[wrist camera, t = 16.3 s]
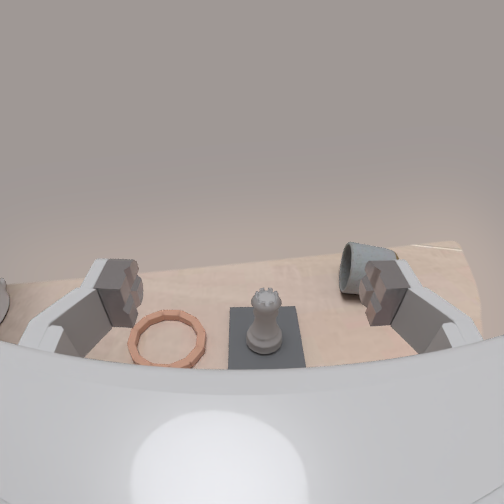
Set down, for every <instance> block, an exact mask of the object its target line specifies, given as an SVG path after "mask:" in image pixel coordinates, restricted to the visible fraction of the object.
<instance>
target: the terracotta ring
mask: <svg viewBox="0 0 504 504" xmlns="http://www.w3.org/2000/svg"><path fill="white" fill-rule="evenodd" d="M163 320H180V321H181V322H183V323H185V324H187V325H189V326H191V327H192V328H193V329H194V331H195V333H196V334H197V341H196V346H195V348H194V349H193V350H192V351H191V352H190V353H189V355H188V356H187V357H186V358H184V359H182V360H179V361H177V362H174V363H172V364H169V365H168V364H153V363H151V362H149V361H147V360H146V359H144V358H143V357H141V356H140V355H139V352H138V350H137V345H138V341H139V337H140V335H141V334H142V333H143V332H144V331H145V330H146V329H147V328H148V327H149V326H150V325H152V324H155V323H158V322H160V321H163ZM205 344H206V332H205V330H204V328H203V327H202V325H201V323H200V322H199V320H198V319H197V318H196V317H194V316H192V315H190V314H188V313H186V312H184V311H181V310H163V311H162V310H160V311H158V312H155V313H152V314H149V315H147V316H146V317H143V318H142V319H141V320H140V321H139V322H138V323H137V324H136V325H135V326H134V328H132V329H131V333H130V336H129V339H128V343H127V345H128V348H129V351H130V354H131V356H132V359H133V361H134V363H135V364H136V365H147V366H159V367H173V368H191V367H193V366H194V365H195V364H196V363H197V361H198V360H199V359H200V358H201V357H202V355H203V354H204V352H205Z"/></svg>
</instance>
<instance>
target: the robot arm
mask: <svg viewBox="0 0 504 504" xmlns="http://www.w3.org/2000/svg"><path fill="white" fill-rule="evenodd" d="M138 270H139V268H138V264H137V261H135V260H130V259H129V260H128V259H96V260H95V261H94V263H93V265H92V267H91V268H90V270H89V272H88V274H87V275H86V277H85V279H84V281H83V283H82V285H81V286H80V288H75V289H74V290H72V291H71V292H69V293H68V294H67V295H65V296H64V297H62V298H61V299H59V300H58V301H57V302H55V303H54V304H52V305H51V306H50V307H48V308H47V309H45V310H44V311H43V312H41V313H40V314H38V315H37V316H36V317H34V318H33V319H32V320H30V322H29V324H28V326H27V328H26V329H25V331H24V333H23V335H22V337H21V339H20V341H19V343H18V345H16V344H12V343H8V342H4V341H0V504H504V335H501V336H498V337H494V338H490V339H487V340H483V338H482V336H481V334H480V333H479V331H478V329H477V327H476V326H475V324H474V322H473V321H472V319H471V318H470V317H469V316H467V315H466V314H464V313H463V312H462V311H460V310H459V309H457V308H456V307H454V306H453V305H452V304H450V303H449V302H447V301H446V300H444V299H443V298H441V297H440V296H438V295H437V294H435V293H434V292H432V291H431V290H429V289H428V288H426V287H422V285H421V283H420V282H419V280H418V278H417V277H416V275H415V274H414V272H413V270H412V269H411V267H410V266H409V264H408V263H407V261H405V260H404V259H402V260H377V261H368V262H367V263H366V266H365V269H364V270H365V272H366V275H365V276H364V277H363V278H362V279H361V282H360V285H359V297H360V300H361V303H362V304H363V305H364V306H365V307H367V310H366V312H365V313H366V316H367V319H368V321H369V324H370V326H383V325H391V327H392V328H393V329H394V330H395V331H396V332H397V333H398V334H399V335H400V336H401V337H402V338H403V339H404V340H405V341H406V342H407V343H408V344H409V345H410V346H411V347H412V348H413V349H414V350H415V351H416V352H417V353H418V355H412V356H406V357H400V358H393V359H386V360H379V361H371V362H363V363H354V364H345V365H334V366H322V367H307V368H289V369H256V370H224V369H191V368H173V367H159V366H147V365H136V364H127V363H118V362H110V361H102V360H95V359H88V358H84V357H85V356H86V355H87V354H88V353H89V352H90V350H91V349H92V348H93V347H94V346H95V345H96V344H97V343H98V342H99V341H100V340H101V339H102V338H103V337H104V336H105V335H106V334H107V333H108V332H109V331H110V330H111V329H112V327H127V328H134V325H135V322H136V319H137V316H138V312H137V309H136V308H137V307H138V306H140V305H141V303H142V299H143V283H142V279H141V278H140V277H139V276H138V275H137V273H138ZM8 307H9V295H8V293H7V291H6V281H5V280H4V278H0V323H1V321H2V320H3V318H4V316H5V314H6V312H7V310H8Z"/></svg>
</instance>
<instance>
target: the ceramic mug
mask: <svg viewBox="0 0 504 504" xmlns="http://www.w3.org/2000/svg"><path fill="white" fill-rule="evenodd" d="M377 260H399V258H398V256H397V254H396V253H395V252H394V251H392V250H389V249H386V248H382V247H381V248H380V247H375V246H370V245H364V244H359V243H354V242H348V243H347V244H346V246H345V248H344V251H343V254H342V259H341V265H340V275H339V281H340V282H339V285H340V290H341V292H342V293H351V294H359V285H360V282H361V279H362V278H363V277H364V276H365V275H366V272H365V270H364V269H365V266H366V263H367V262H368V261H377Z"/></svg>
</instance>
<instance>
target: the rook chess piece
mask: <svg viewBox="0 0 504 504" xmlns="http://www.w3.org/2000/svg"><path fill="white" fill-rule="evenodd" d="M272 291H273V289H272V288H268V291H264V288H261V289H260V292H258V291H256V293H255V296H253V298H252V300H251V304H252V306H253V308H254V309H253V314H254V315H255V318H254V322H253V323H252V325H251V326H250V327H249V329H248V331H247V336H246V343H247V345H248V346H249V348H250V349H252V350H253V351H254V352H257V353H260V354H269V353H272V352H275V351H276V350H277V349H278V348H280V346H281V344H282V331H281V329H280V328H279V326H278V325H277V323H276V317H277V316H278V313H279V312H278V309H279V308H280V306H281V304H282V303H281V299H280V297H279V296H278V293H277V291H275V292H272Z"/></svg>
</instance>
